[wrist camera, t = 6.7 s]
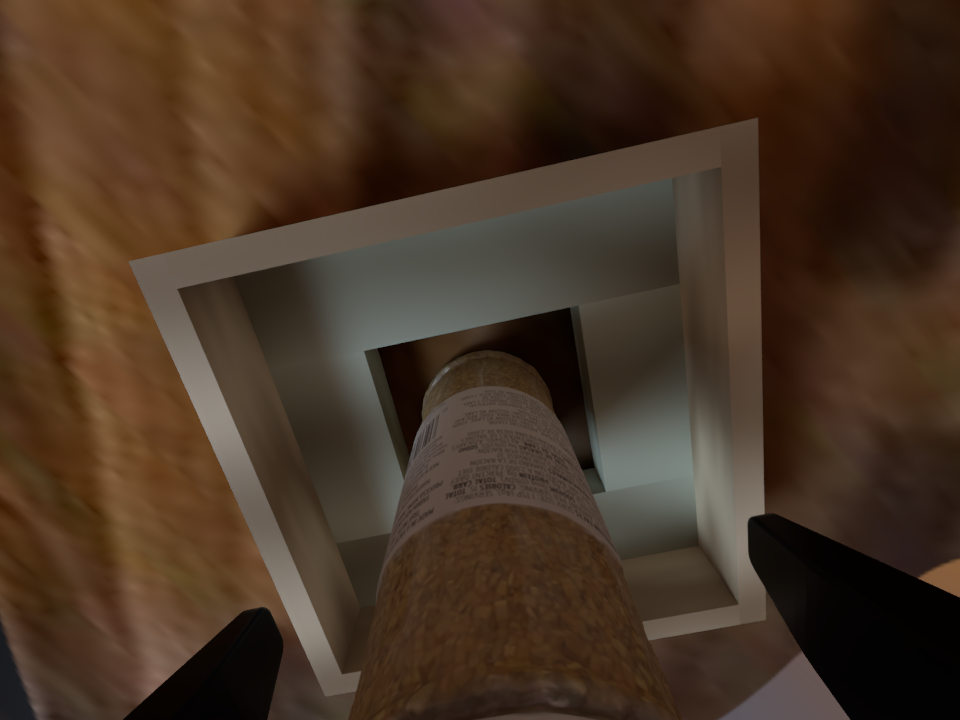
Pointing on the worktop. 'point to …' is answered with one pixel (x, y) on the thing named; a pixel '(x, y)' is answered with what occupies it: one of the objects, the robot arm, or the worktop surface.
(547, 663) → the sprinkles bottle
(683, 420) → the peg box
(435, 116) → the worktop surface
